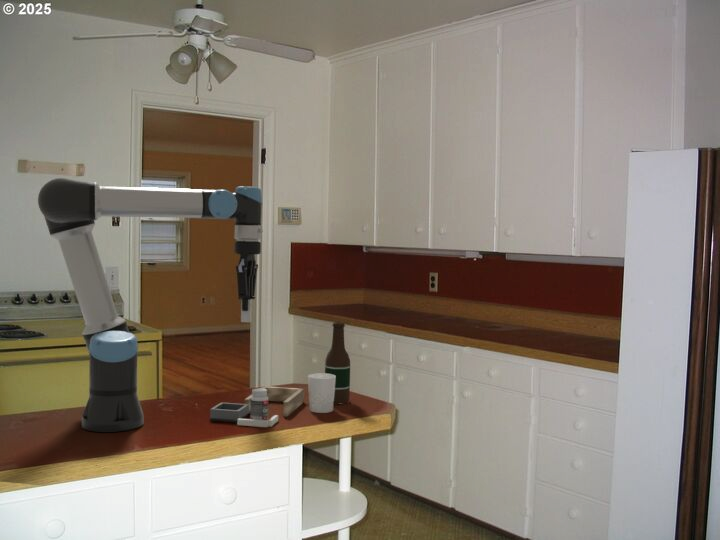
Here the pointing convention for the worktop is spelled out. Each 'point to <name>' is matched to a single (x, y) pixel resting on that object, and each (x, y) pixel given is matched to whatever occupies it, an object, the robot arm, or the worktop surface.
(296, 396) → the cubby
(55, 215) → the robot arm
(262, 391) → the pill bottle
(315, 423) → the worktop surface
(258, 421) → the white l-shaped block
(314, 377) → the white cup
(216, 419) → the bin
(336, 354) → the beer bottle
